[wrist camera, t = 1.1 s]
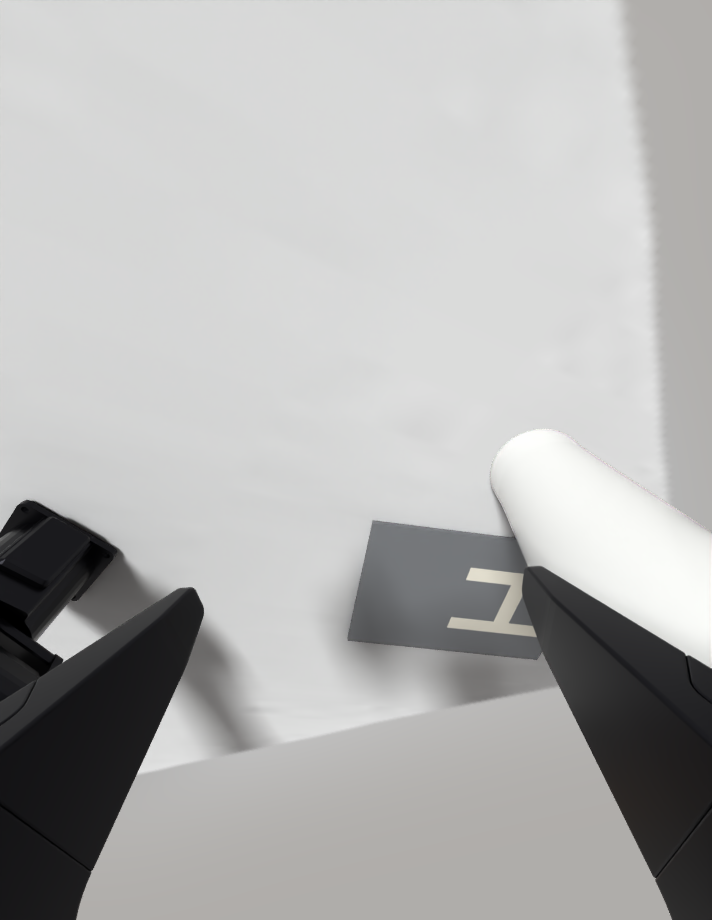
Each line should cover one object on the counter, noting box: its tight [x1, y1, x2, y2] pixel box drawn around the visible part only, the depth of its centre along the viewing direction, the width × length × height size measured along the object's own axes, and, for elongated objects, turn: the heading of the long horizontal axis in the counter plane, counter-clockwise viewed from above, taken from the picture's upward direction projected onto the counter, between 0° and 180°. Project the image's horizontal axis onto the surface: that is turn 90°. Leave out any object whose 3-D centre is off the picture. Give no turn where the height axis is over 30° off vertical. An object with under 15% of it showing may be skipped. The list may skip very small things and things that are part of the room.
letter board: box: [348, 521, 542, 660], centre depth 28 cm, size 16×12×1 cm
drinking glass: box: [490, 429, 712, 668], centre depth 16 cm, size 7×7×15 cm
